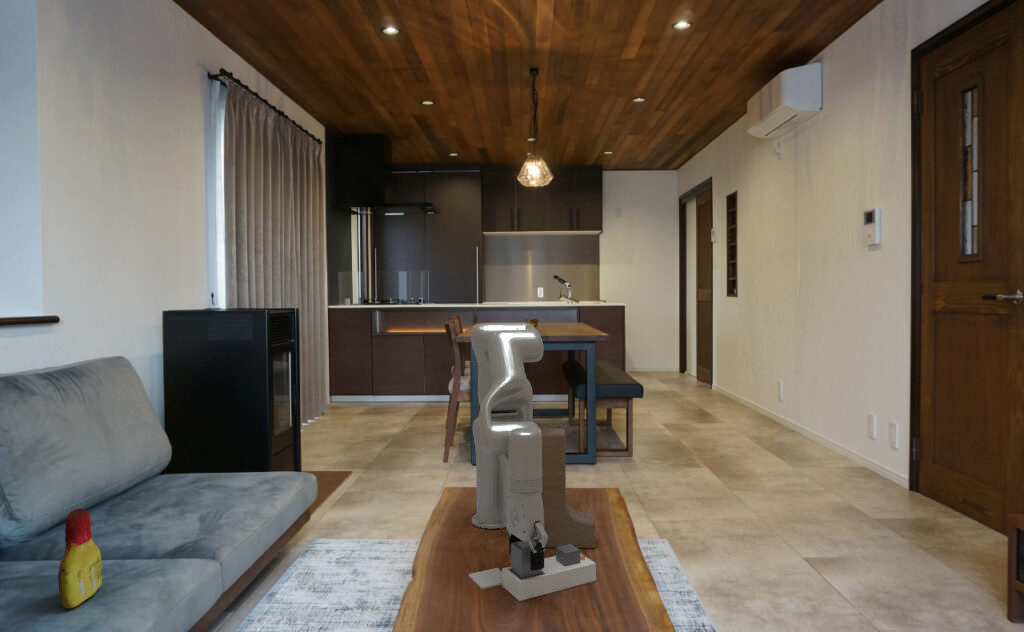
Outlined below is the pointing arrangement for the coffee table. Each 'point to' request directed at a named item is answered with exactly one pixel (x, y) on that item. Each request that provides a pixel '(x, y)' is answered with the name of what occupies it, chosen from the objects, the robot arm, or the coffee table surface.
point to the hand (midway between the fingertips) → (526, 561)
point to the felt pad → (487, 578)
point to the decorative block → (561, 497)
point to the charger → (522, 560)
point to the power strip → (553, 574)
